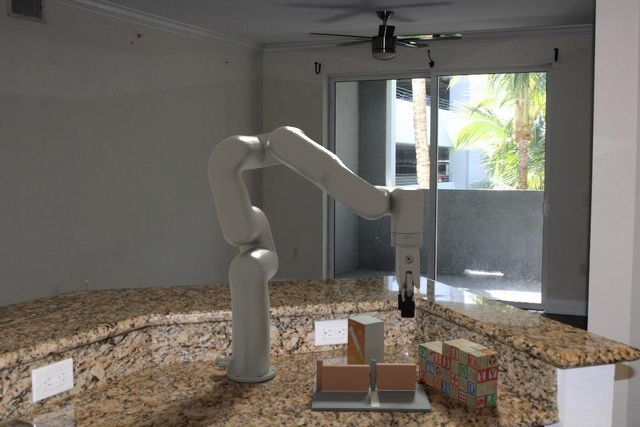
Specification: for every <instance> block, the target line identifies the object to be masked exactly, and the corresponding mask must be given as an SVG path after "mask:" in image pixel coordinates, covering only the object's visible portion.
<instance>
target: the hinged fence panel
mask: <svg viewBox="0 0 640 427" xmlns="http://www.w3.org/2000/svg"><path fill="white" fill-rule="evenodd" d="M370 384H371V391H376V388H377V390H416V384H417V365H416V363H409V362H408V363H395V362H394V363H392V362H391V363H390V362H389V363H388V362H386V363H385V362H384V363H377V372H376V360H374V359H372V360H371V373H370ZM376 384H377V387H376Z"/></svg>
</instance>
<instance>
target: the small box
mask: <svg viewBox="0 0 640 427" xmlns="http://www.w3.org/2000/svg"><path fill="white" fill-rule="evenodd" d="M346 350H347V354H346V355H347V356H346V357H347V358H346V360H347V361H346V362H347V364H346V365H369V374H371V360H372V359H374V360H376V373H377V363H385V321H384V320H382V319H379V318H377V317H374V316H371V315H368V314H363V315H355V316H350V317H347V349H346Z"/></svg>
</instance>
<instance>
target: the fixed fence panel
mask: <svg viewBox="0 0 640 427" xmlns="http://www.w3.org/2000/svg"><path fill="white" fill-rule="evenodd" d="M315 370H316V371H315V379H316V380H315V383H316V391H369V384H370V373H369V365H347V364H324V359H322V358H317V359H316V360H315Z"/></svg>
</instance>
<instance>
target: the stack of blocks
mask: <svg viewBox="0 0 640 427" xmlns="http://www.w3.org/2000/svg"><path fill="white" fill-rule="evenodd" d="M498 376H499V352H497V351H495V350H492V349H489V348H488V347H487V346H484V345H481V344H478V343H476V342H473V341H470V340H467V339H466V338H463V337H462V338H457V339H451V340H445V341H440V340H436V341H430V342H424V343H419V344H418V380H419V381H420V382H422V383H425V384H426V385H427V386H430V387H431V388H433V389H435V390H436V391H439V392H440V393H442V394H445V395H447V396H448V395H449V397H451V398H452V399H455V400H456V401H457V402H460V403H461V404H464V405H466V406H467V407H469V408H471V409H472V410H474V411H477V410H480V409H481V410H482V409H485V408H489V407H493V406H497V401H498V393H497V392H498V379H499V377H498Z"/></svg>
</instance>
